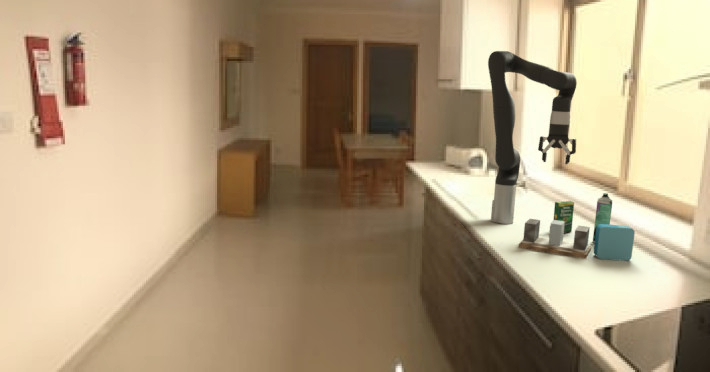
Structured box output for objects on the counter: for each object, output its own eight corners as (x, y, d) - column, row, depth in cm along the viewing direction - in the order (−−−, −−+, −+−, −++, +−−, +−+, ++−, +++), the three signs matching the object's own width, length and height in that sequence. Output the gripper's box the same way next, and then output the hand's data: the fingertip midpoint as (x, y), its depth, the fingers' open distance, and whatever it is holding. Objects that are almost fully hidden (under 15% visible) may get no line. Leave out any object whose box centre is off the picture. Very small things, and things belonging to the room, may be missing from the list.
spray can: (607, 242, 234) (613, 193, 230) (607, 245, 229) (613, 195, 225) (593, 240, 236) (598, 191, 232) (592, 243, 231) (597, 193, 228)
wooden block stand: (518, 247, 220) (520, 223, 218) (526, 239, 232) (528, 217, 230) (586, 258, 209) (588, 233, 207) (590, 249, 221) (593, 226, 219)
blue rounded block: (626, 257, 213) (631, 225, 211) (631, 261, 208) (635, 228, 206) (592, 255, 214) (596, 223, 212) (596, 258, 210) (600, 226, 208)
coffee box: (555, 233, 245) (558, 202, 243) (551, 231, 248) (554, 201, 245) (571, 232, 247) (575, 202, 245) (567, 230, 250) (570, 200, 248)
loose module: (547, 244, 218) (549, 223, 217) (550, 240, 224) (553, 219, 223) (559, 245, 216) (561, 225, 215) (562, 241, 222) (564, 221, 221)
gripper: (539, 122, 233) (535, 162, 236) (577, 124, 227) (572, 165, 230) (543, 121, 240) (539, 160, 243) (579, 123, 233) (575, 163, 236)
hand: (555, 163), depth 236 cm, fingers open, 8 cm apart
